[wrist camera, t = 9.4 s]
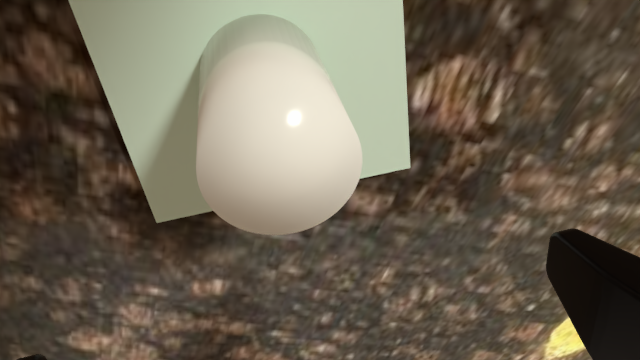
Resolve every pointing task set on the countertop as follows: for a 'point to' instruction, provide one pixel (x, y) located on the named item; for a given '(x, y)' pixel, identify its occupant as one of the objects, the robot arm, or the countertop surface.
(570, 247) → the robot arm
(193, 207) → the plate
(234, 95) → the ceramic cylinder
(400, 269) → the countertop surface
